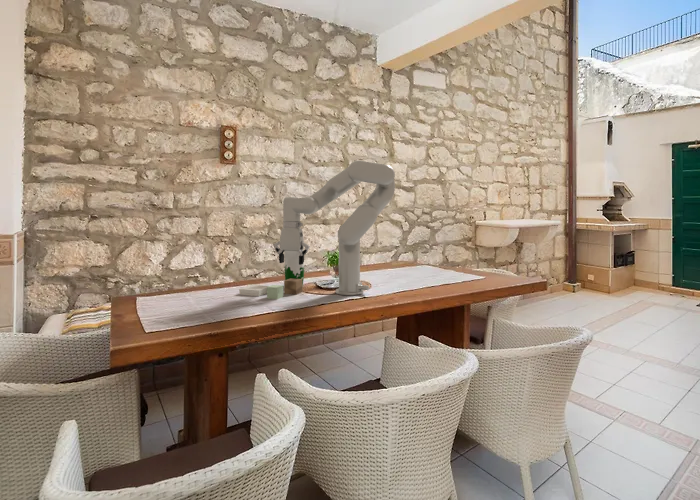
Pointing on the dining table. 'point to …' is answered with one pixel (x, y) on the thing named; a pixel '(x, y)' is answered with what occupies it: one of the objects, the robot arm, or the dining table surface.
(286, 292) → the walnut block
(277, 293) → the sage block
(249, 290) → the stone base
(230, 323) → the dining table surface
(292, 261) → the milk carton
